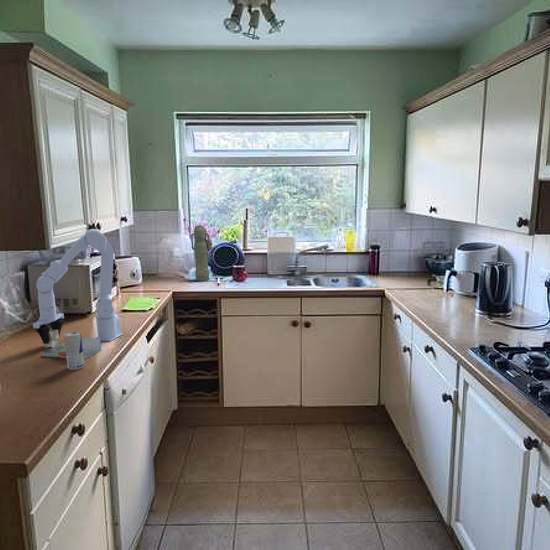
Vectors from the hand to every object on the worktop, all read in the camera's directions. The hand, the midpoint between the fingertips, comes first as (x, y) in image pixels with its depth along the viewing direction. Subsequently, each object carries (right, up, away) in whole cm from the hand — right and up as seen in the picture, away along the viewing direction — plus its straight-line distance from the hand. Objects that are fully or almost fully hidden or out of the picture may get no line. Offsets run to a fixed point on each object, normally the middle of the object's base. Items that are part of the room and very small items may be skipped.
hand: (51, 341), depth 189 cm
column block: (0, -2, 0) cm, 2 cm away
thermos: (+40, +22, +126) cm, 134 cm away
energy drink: (+19, -6, -23) cm, 31 cm away
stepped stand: (+12, -3, -9) cm, 15 cm away
